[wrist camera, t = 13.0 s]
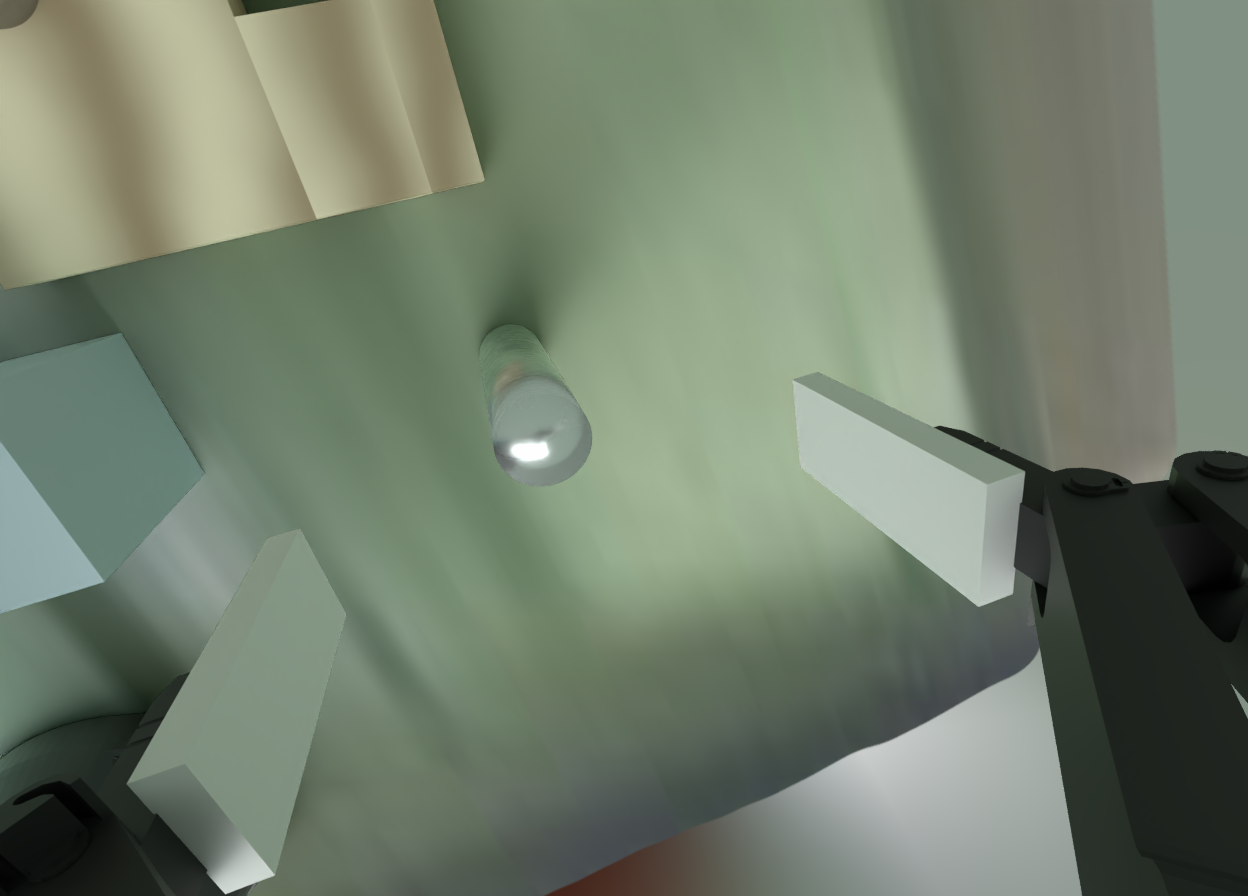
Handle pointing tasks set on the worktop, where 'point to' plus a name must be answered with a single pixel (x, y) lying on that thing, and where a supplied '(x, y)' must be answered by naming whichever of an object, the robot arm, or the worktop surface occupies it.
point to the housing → (81, 467)
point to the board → (213, 123)
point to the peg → (531, 409)
